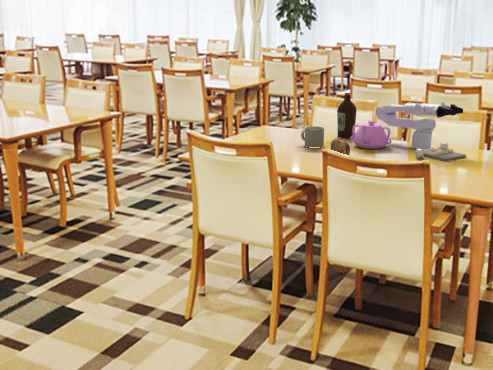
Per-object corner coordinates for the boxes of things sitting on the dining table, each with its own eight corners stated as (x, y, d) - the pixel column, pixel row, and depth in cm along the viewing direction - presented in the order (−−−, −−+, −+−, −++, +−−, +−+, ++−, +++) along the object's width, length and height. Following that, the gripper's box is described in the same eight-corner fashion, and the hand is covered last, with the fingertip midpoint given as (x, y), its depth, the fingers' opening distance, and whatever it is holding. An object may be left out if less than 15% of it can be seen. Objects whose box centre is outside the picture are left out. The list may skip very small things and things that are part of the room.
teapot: (342, 149, 314) (342, 123, 310) (355, 142, 333) (356, 116, 329) (384, 153, 304) (385, 126, 300) (395, 145, 323) (396, 119, 319)
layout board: (418, 155, 300) (419, 144, 299) (439, 151, 308) (440, 141, 307) (445, 161, 288) (446, 150, 286) (466, 157, 296) (467, 146, 294)
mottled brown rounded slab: (330, 154, 304) (330, 137, 302) (335, 153, 305) (336, 137, 303) (345, 160, 290) (345, 143, 288) (350, 160, 292) (351, 143, 289)
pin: (414, 158, 294) (415, 149, 293) (419, 157, 296) (420, 148, 295) (420, 159, 291) (420, 150, 290) (425, 158, 293) (426, 149, 292)
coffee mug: (327, 147, 320) (328, 128, 318) (313, 149, 315) (313, 130, 312) (310, 143, 331) (311, 124, 328) (296, 145, 326) (296, 126, 323)
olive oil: (347, 134, 353) (349, 91, 346) (359, 137, 344) (361, 93, 337) (332, 136, 348) (334, 92, 341) (343, 139, 339) (345, 94, 332)
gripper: (425, 103, 300) (447, 104, 289) (444, 100, 308) (467, 101, 296) (424, 117, 302) (447, 119, 290) (444, 114, 309) (467, 116, 298)
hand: (457, 111), depth 293 cm, fingers open, 7 cm apart
